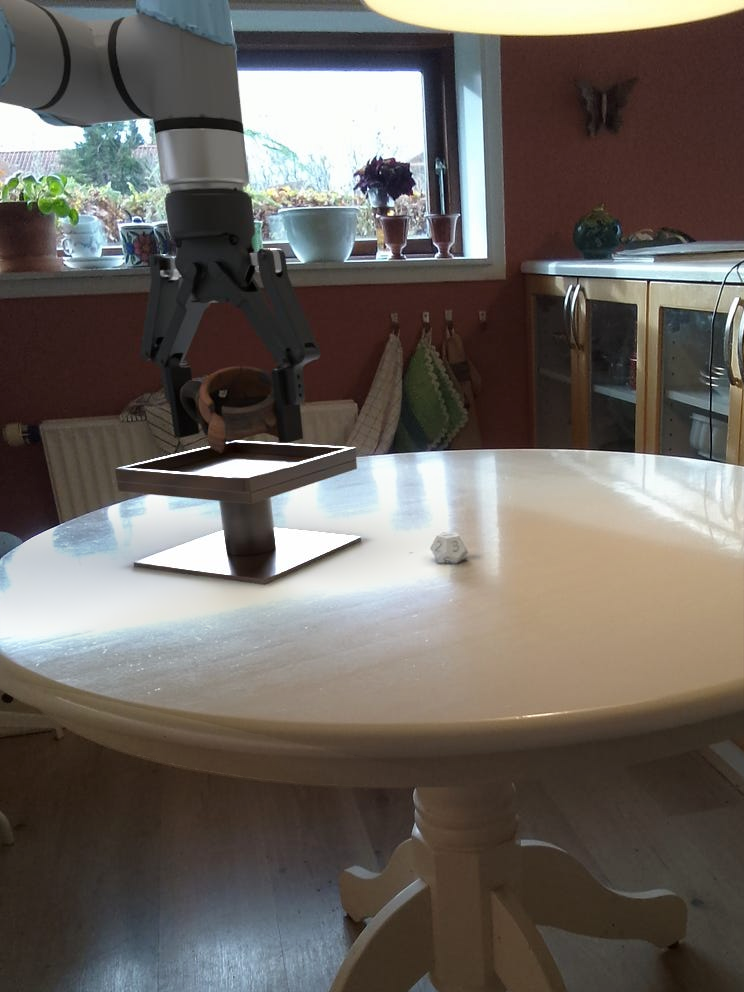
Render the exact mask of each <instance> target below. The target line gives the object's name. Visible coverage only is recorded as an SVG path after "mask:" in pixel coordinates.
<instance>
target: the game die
mask: <svg viewBox="0 0 744 992" xmlns="http://www.w3.org/2000/svg"><path fill="white" fill-rule="evenodd" d="M429 549H430V551H431V553H432V554H433V557H434V558H435V560H436V561H437V563H438V564H454V565H455V564H459V562H462V561H463V560H466V557H467V555H468V553H469V551H468V549H467V547H466V545H465V543H464V541H463V539H462V538H461V537H460V534H459V533H458V532H447V531H446V532H444V531H443V532H441V533H440V534H438V535H436V537H435V538H434V540H433V542H432V544H431V545H430V547H429Z"/></svg>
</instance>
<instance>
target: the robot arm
mask: <svg viewBox="0 0 744 992" xmlns="http://www.w3.org/2000/svg"><path fill="white" fill-rule="evenodd" d="M134 8H135V12H136V14H132V15H128V16H124V17H120V18H112V19H101V20H100V19H99V20H84V19H80V18H77V17H74V16H72V15H68V14H66V13H63V12H60V11H57V10H55V9H52V8H50V7H46V6H43V5H41V4H38V3H35V2H33V1H29V0H0V103H1V104H6V105H11V106H17V107H21V108H24V109H28V110H30V111H32V112H33V113H35V114H36V115H37V116H38V117H39V118H40V120H42V121H43V122H44V123H46V124H48V125H51V126H54V127H78V128H81V129H86V128H91V127H93V126H97V125H103V124H112V123H121V122H131V121H138V120H139V121H140V120H152V123H153V127H154V129H153V130H154V135H155V141H156V148H157V151H156V152H157V158H158V166H159V173H160V174H159V175H160V182H161V185H162V186H164V187H165V188H169V189H168V190H169V192H166V194H165V196H164V197H163V202H164V208H165V215H166V223H167V230H168V234H169V236H170V238H171V239H173V240H174V242H175V246H176V248H175V249H176V251H175V255H174V254H155V253H153V254H151V255H150V256H149V258H148V264H149V274H150V286H149V293H148V299H147V306H146V312H145V319H144V324H143V325H144V326H143V332H142V339H141V346H140V357H141V358H142V360H144V361H150V362H152V363H154V364H156V366H157V367H158V368H159V369H160V373H161V382H162V389H163V395H164V398H165V400H166V402H169V408H170V414H171V420H172V428H173V429H172V430H173V435H174V438H186V437H189V436H194V435H199V434H200V426H199V423H197V422H196V421H195V420H194V419H193V418H192V417H191V416H190V415H189V414H188V413H187V411H186V410H185V409H184V407H183V405H182V403H181V401H180V390H181V388H182V386H183V385H185V383H186V382H187V381H190V380H193V376H192V374H193V373H192V367H191V366H190V365H187V364H188V361H187V360H186V359H185V358H186V355H187V353H188V352H189V351H188V350H189V348H190V345H191V343H192V341H193V339H194V336H195V333H196V332H197V329H198V326H199V325H200V322H201V320H202V318H203V317H202V316H203V314H204V312H205V310H206V309H208V308H209V307H210V306H211V304H213V303H220V304H221V303H222V304H223V303H231V304H232V305H233V306H234V307H236V308H237V309H238V310H240V312H241V313H242V314H243V316H244V317H245V319H246V320H247V322H248V323H249V324H250V326H251V327H252V329H253V330H254V332H255V334H256V335H257V336H258V337H259V339H260V340H261V342H262V343H263V344H264V346H265V348H266V349H267V351H268V352H269V354H270V355H271V356H272V358H273V359H274V361H275V362H276V365H275V366H274V369H271V372H270V373H271V374H272V381H273V390H274V399H275V409H276V418H277V427H278V437H279V438H278V437H277V438H278V443H285V444H289V443H292V442H296V441H300V440H303V439H304V434H303V433H304V432H303V424H302V423H303V421H302V414H301V412H302V411H301V405H303V404H305V401H306V393H305V381H304V368H305V367H304V366H305V365H306V364H308V363H310V362H312V361H314V360H319V358H320V356H321V350H320V347H319V344H318V342H317V340H316V337H315V335H314V333H313V331H312V329H311V326H310V323H309V321H308V319H307V317H306V314H305V312H304V309H303V307H302V305H301V302H300V300H299V298H298V295H297V293H296V291H295V288H294V286H293V284H292V281H291V279H290V277H289V273H288V265H287V258H286V254H285V253H286V252H285V251H284V250H282V249H281V248H259V249H258V250H257V251H256V250H255V247H254V245H253V237H254V236H255V234H256V225H255V217H254V208H253V207H254V206H253V198H252V196H251V195H250V193H248V192H246V191H245V190H244V188H245V187H247V186H248V185H249V184H250V182H251V181H250V174H249V165H248V163H249V162H248V155H247V148H246V147H247V146H246V138H245V137H246V136H245V131H244V123H243V116H242V115H243V113H242V104H241V94H240V83H239V72H238V71H239V70H238V60H237V59H238V58H237V52H238V44H237V43H236V41H235V33H234V27H233V21H232V20H233V19H232V15H231V9H230V3H229V0H135V5H134ZM256 273H257V274H258V275H259V277H260V280H261V284H262V286H263V289H264V291H265V293H264V291H263V289H262V288H261V287H260V285H259V284H258V282H257V281H256V279H255V275H256ZM180 278H182V280H181V283H180ZM266 297H267V298H268V300H269V302H270V305H271V306H270V305H269V304H268V302H267V301H266ZM272 308H273V309H272Z"/></svg>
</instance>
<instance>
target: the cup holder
mask: <svg viewBox="0 0 744 992" xmlns="http://www.w3.org/2000/svg"><path fill="white" fill-rule="evenodd" d="M357 469H358V463H357V448H356V447H355V446H339V445H336V446H335V445H319V444H301V443H279V442H265V441H249V440H248V441H247V440H236V441H233V442H227V443H226V447H225V449H224V451H223V453H219V452H218V451H216V450H214V449H212V448H210V447H209V445H208V446H206V447H205V446H204V447H201V448H196V449H192V450H188V451H183V452H179V453H174V454H170V455H167V456H166V455H165V456H162V457H158V458H154V459H150V460H145V461H141V462H137V463H132V464H128V465H124V466H120V467H116V468H114V473H115V477H116V478H115V479H116V483H117V485H116V486H117V490H118V492H120V493H127V494H128V493H129V494H141V495H150V496H162V497H172V498H185V499H193V500H194V499H196V500H207V501H215V502H218V503H219V512H220V520H221V527H222V530H219V531H217V532H215V533H212V534H209V535H206V536H203V537H200V538H197V539H194V540H192V541H189V542H186V543H182V544H181V545H178V546H175V547H173V548H170V549H165V550H163V551H161V552H158V553H154V554H153V555H149V556H146V557H144V558H141V559H138V560H136V561H133V562H132V564H133V567H134V568H139V569H145V570H153V571H161V572H168V573H176V574H183V575H190V576H195V577H196V576H197V577H205V578H212V579H218V580H219V579H220V580H225V581H232V582H233V581H235V582H239V583H240V582H241V583H242V582H243V583H249V584H250V583H251V584H256V585H263V586H266V585H268V584H270V583H273V582H275V581H277V580H279V579H282V578H284V577H285V576H288V575H290V574H292V573H295V572H297V571H299V570H301V569H304V568H306V567H309V566H310V565H312V564H314V563H317V562H318V561H321V560H323V559H326V558H328V557H330V556H332V555H335V554H336V553H339V552H341V551H343V550H345V549H348V548H349V547H350V548H351V546H354V545H356V544H359V543H360V542H361V543H362V536H358V535H349V534H348V535H347V534H339V533H329V532H319V531H310V530H302V529H301V530H299V529H291V528H290V529H289V528H279V527H275V523H274V522H275V521H274V513H273V505H272V498H273V497H277V496H279V495H283V494H286V493H289V492H292V491H295V490H297V489H300V488H304V487H307V486H309V485H313V484H315V483H319V482H322V481H324V480H328V479H331V478H334V477H337V476H340V475H343V474H346V473H349V472H352V471H354V470H357Z"/></svg>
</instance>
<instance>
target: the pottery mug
mask: <svg viewBox="0 0 744 992" xmlns="http://www.w3.org/2000/svg"><path fill="white" fill-rule="evenodd" d="M223 391H226V394H225V396H220V394H221V393H220V392H223ZM180 401H181V403H182V405H183V407H184V409H185V410H186V411H187V413H188V414H189V415H190V416H191V417H192V418H193V419H194V420H195V421H196V422H197V423H198V425H200V427H201V429H202V432H203V434H204V435H205V436H207V438H206V441H207V444H208V446H209V447H210V448H212V449H214V450H216V451H218V452H219V453H223V451H224V449H225V447H226V443H227V442H233V441H241V440H243V439H245V438H249V437H254V436H256V435H262V434H267V435H270V436H273V437H276V438H278V439H279V437H278V427H277V418H276V409H275V399H274V390H273V381H272V372H269V371H268V370H265V369H261V368H259V367H253V366H247V365H242V366H240V365H237V366H236V365H235V366H229V367H224V368H221V369H218V370H217V371H215V372H212V373H211V374H209V375H208V376H207V377H206V378H204V379H202V380H201V379H192V380H190V381H187V382H186V383H185V385H183V386H182V388H181V390H180Z"/></svg>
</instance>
